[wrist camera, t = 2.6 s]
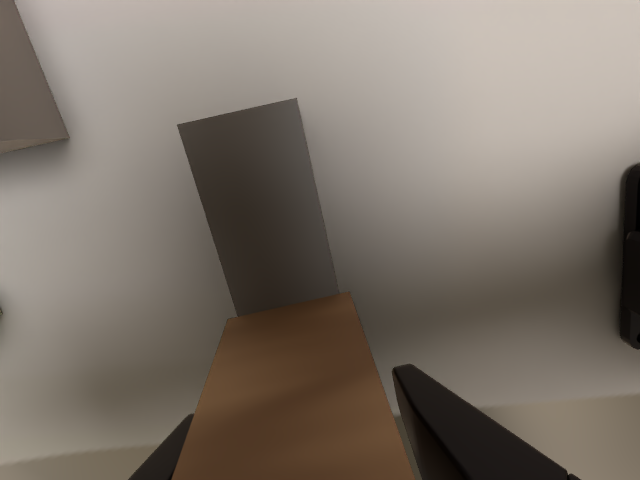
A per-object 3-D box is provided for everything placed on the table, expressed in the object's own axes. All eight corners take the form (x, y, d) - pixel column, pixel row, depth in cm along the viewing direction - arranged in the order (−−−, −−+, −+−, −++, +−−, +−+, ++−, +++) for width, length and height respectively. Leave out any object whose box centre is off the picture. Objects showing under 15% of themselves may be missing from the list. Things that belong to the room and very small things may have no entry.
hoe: (304, 105, 10) (359, -32, 2) (374, 433, 14) (508, 933, 5) (200, 128, 10) (-291, 110, 2) (297, 450, 14) (303, 981, 5)
